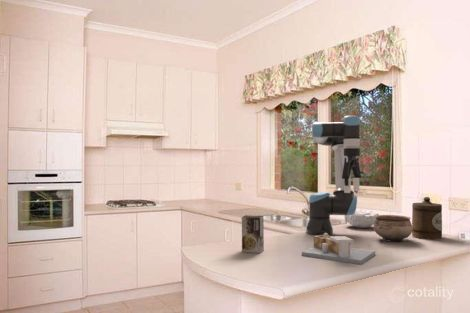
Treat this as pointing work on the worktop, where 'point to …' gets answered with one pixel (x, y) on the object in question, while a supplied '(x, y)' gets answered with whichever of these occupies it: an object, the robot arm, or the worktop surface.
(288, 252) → the worktop surface
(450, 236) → the worktop surface
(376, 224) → the cooking pot
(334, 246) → the link
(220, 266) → the worktop surface
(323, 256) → the pintle base
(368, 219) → the bowl
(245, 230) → the coffee box
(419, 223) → the wooden container
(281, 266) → the worktop surface
